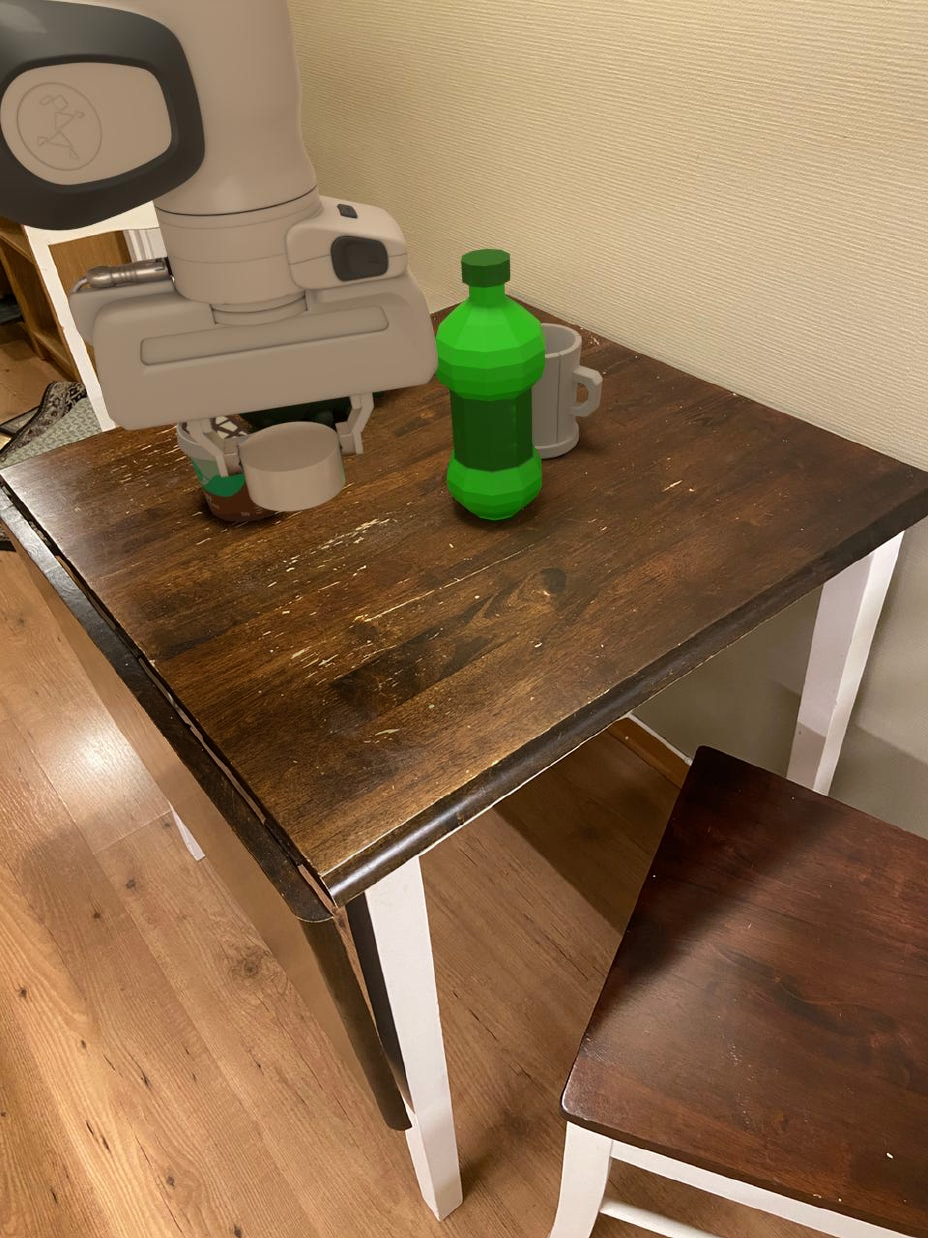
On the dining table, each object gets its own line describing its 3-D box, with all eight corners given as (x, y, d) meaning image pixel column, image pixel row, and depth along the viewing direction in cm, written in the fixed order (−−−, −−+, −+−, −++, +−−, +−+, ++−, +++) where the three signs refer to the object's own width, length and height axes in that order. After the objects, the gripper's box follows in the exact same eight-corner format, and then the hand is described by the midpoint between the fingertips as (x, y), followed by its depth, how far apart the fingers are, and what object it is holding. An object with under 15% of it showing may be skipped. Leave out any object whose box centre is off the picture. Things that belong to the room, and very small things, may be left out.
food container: (179, 493, 96) (152, 410, 90) (230, 473, 99) (208, 391, 92) (227, 543, 89) (202, 456, 82) (282, 520, 91) (261, 433, 85)
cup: (583, 416, 104) (586, 316, 96) (602, 455, 97) (607, 351, 89) (495, 426, 103) (491, 327, 96) (508, 466, 96) (504, 362, 89)
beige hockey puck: (250, 519, 57) (240, 479, 55) (246, 468, 62) (236, 430, 60) (352, 501, 58) (345, 461, 56) (340, 453, 63) (333, 414, 61)
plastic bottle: (435, 490, 94) (412, 247, 77) (530, 472, 95) (527, 231, 79) (458, 542, 86) (438, 286, 70) (560, 522, 88) (564, 267, 72)
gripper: (49, 291, 46) (130, 514, 55) (433, 239, 48) (450, 459, 57) (63, 253, 50) (135, 464, 59) (412, 207, 53) (431, 415, 62)
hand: (293, 461), depth 59 cm, fingers closed on beige hockey puck, 6 cm apart
